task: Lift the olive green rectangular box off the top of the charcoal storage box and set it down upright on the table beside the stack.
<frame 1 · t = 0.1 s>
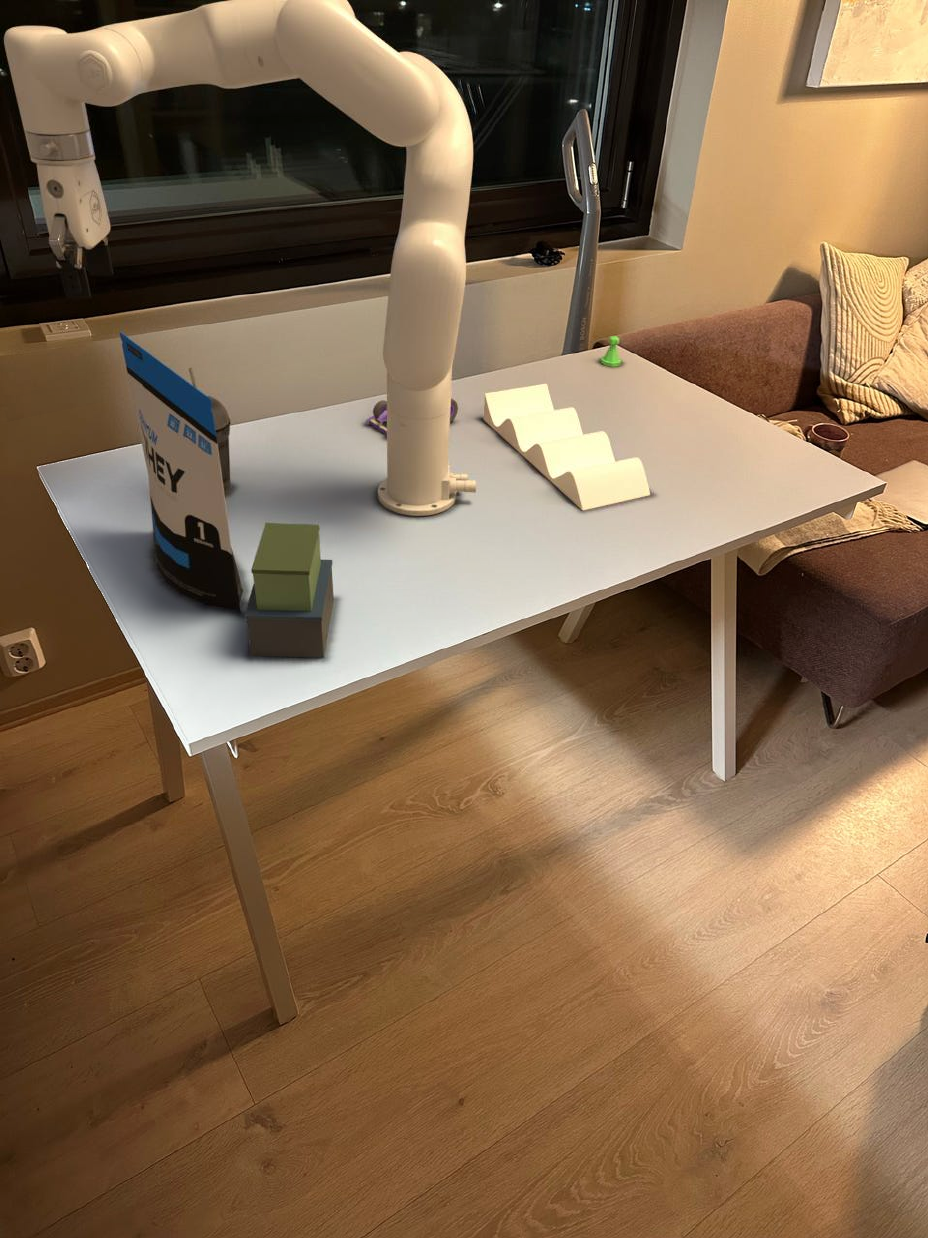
hand: (90, 286, 120), 31 cm above the table, tool pointing down, fingers open, 9 cm apart
olive green rectangular box: (290, 586, 110), point 6 cm above the table, touching storage box
cream wavy block: (561, 455, 155), on the table
game piece: (610, 363, 189), on the table
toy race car: (410, 422, 162), on the table
storage box: (294, 626, 114), on the table, touching olive green rectangular box
protein powder: (197, 572, 122), on the table
beverage cup: (215, 490, 140), on the table
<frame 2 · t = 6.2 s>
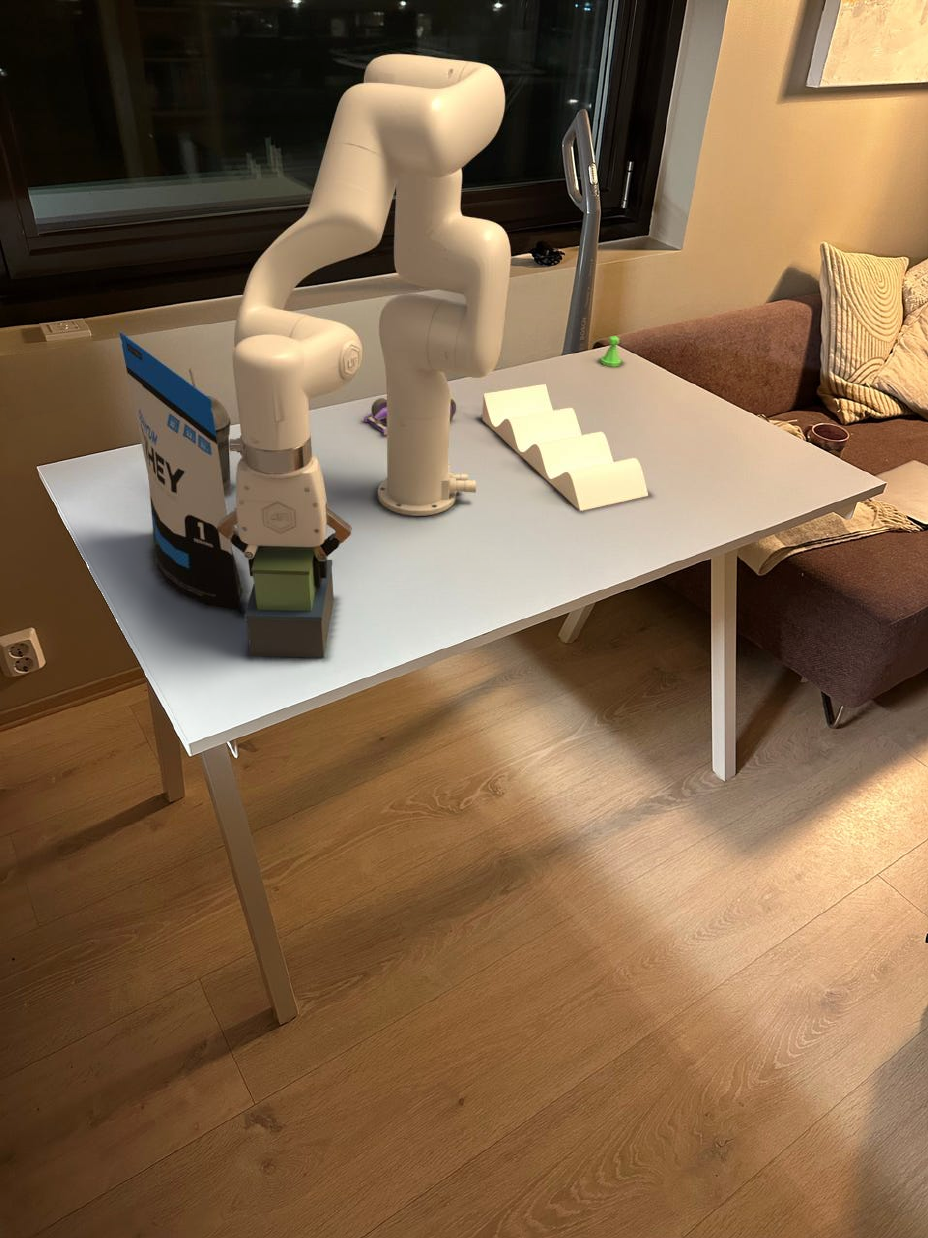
hand: (289, 579, 109), 8 cm above the table, tool pointing down, fingers closed on olive green rectangular box, 6 cm apart
olive green rectangular box: (290, 586, 110), point 6 cm above the table, touching gripper, storage box
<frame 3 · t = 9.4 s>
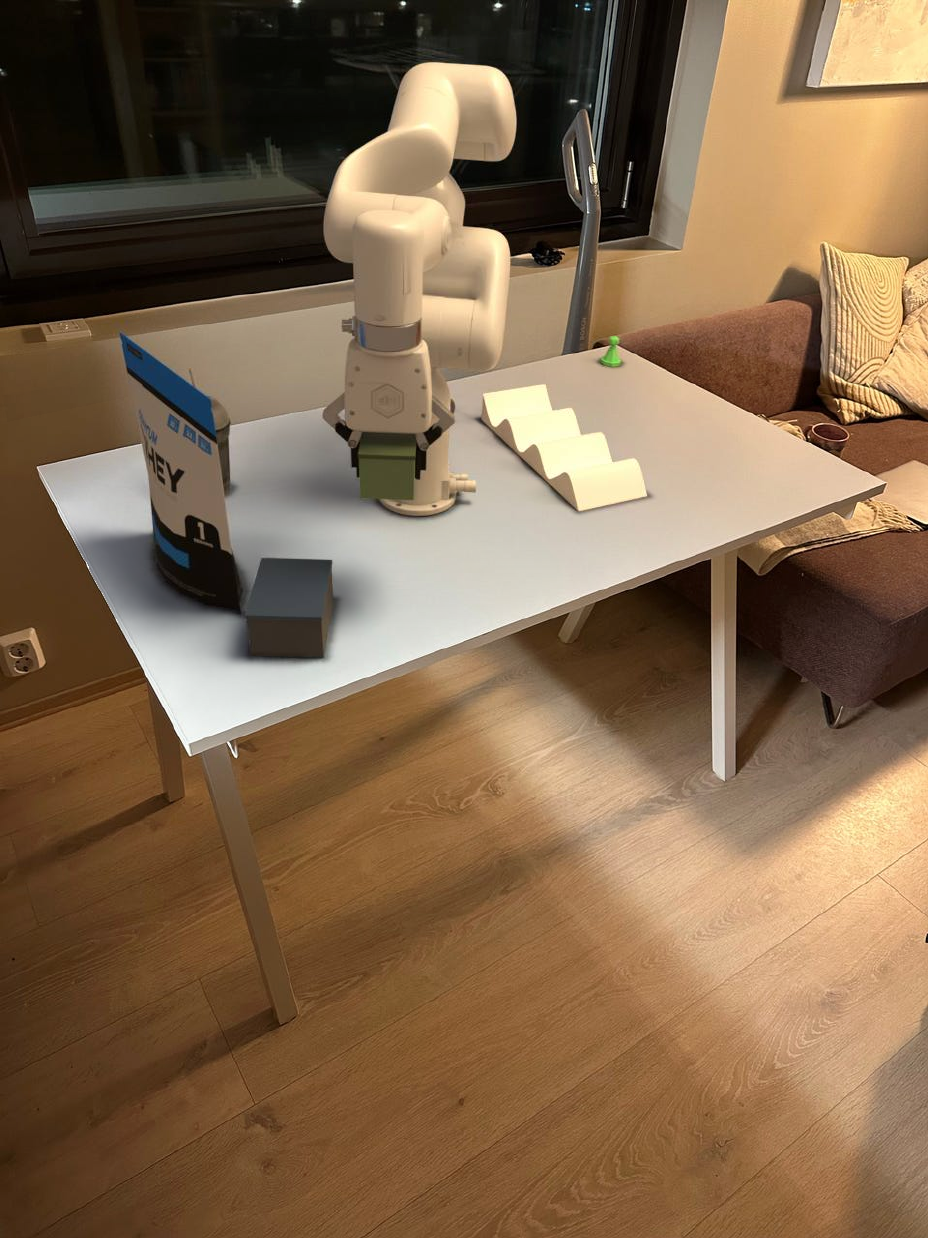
hand: (389, 472, 110), 18 cm above the table, tool pointing down, fingers closed on olive green rectangular box, 6 cm apart
olive green rectangular box: (389, 479, 110), point 17 cm above the table, touching gripper
storage box: (294, 626, 114), on the table
when the fingers open (1 cm above the table, at t = 12.8 s): olive green rectangular box stays where it is, on the table.
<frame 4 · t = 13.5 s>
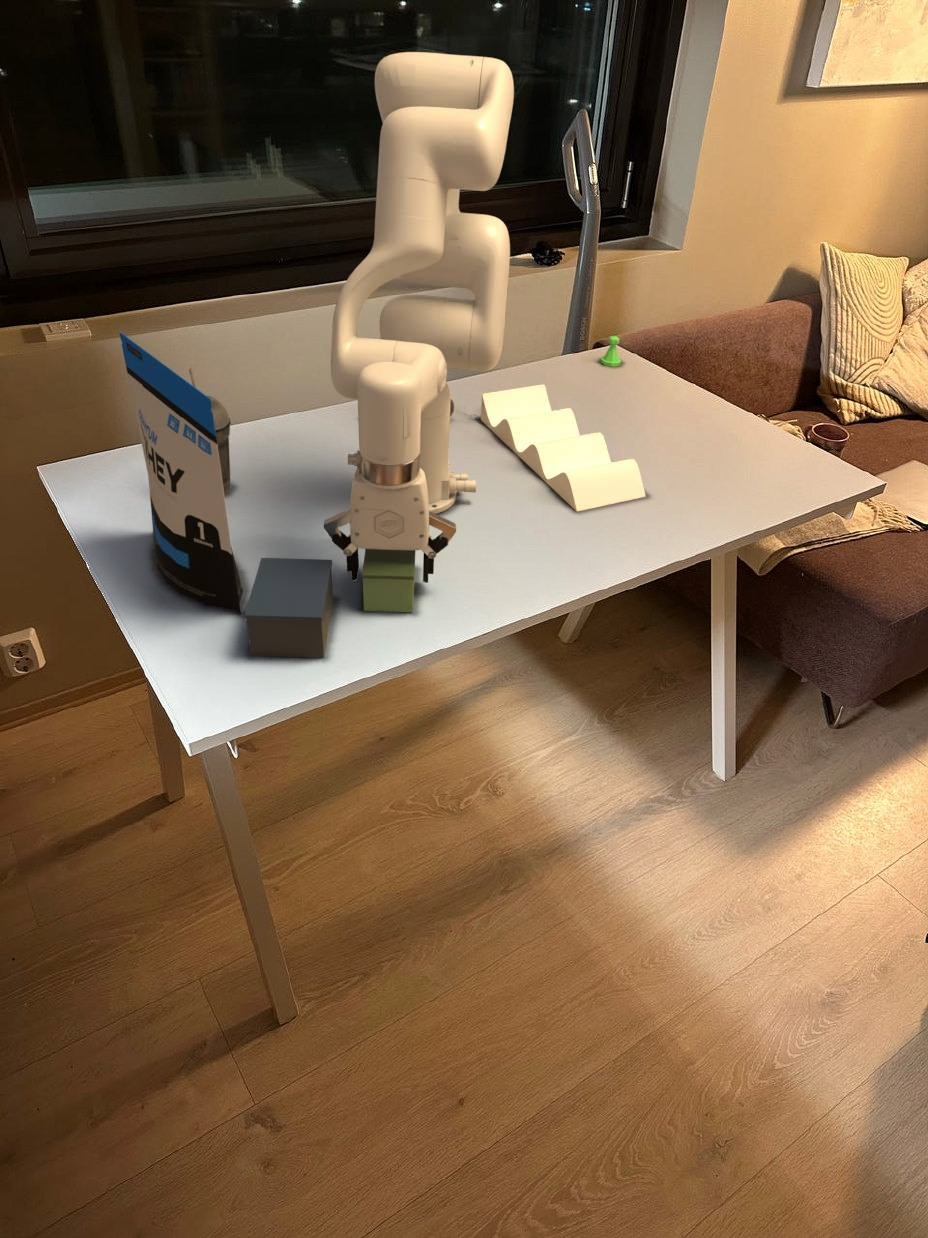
hand: (390, 575, 120), 2 cm above the table, tool pointing down, fingers open, 9 cm apart
olive green rectangular box: (390, 589, 121), on the table
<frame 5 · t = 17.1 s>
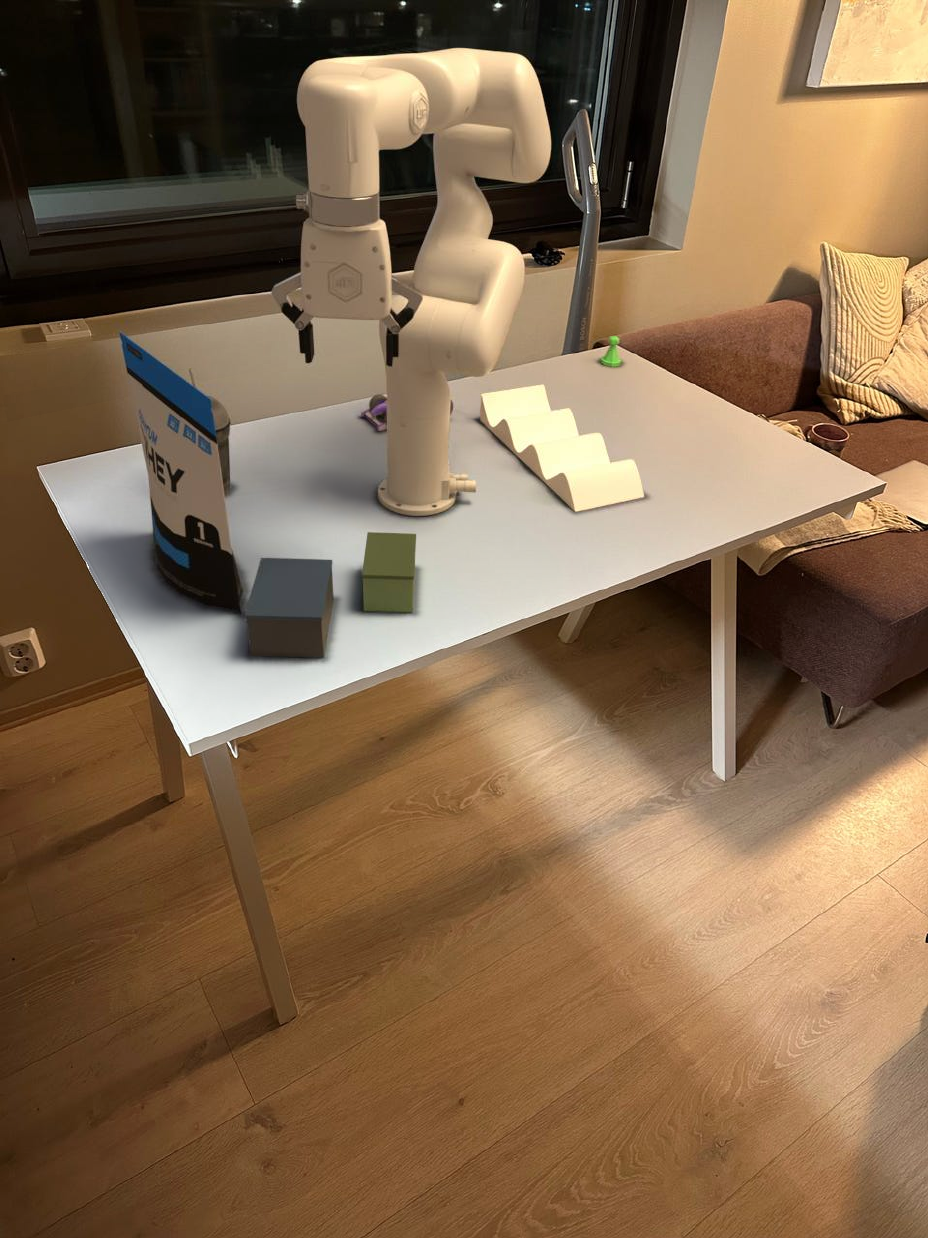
hand: (350, 360, 106), 30 cm above the table, tool pointing down, fingers open, 9 cm apart
at the end: olive green rectangular box inside the target area (0.3 cm from its centre), on the table; olive green rectangular box tilted 0°; storage box moved 0.0 cm from its start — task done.
